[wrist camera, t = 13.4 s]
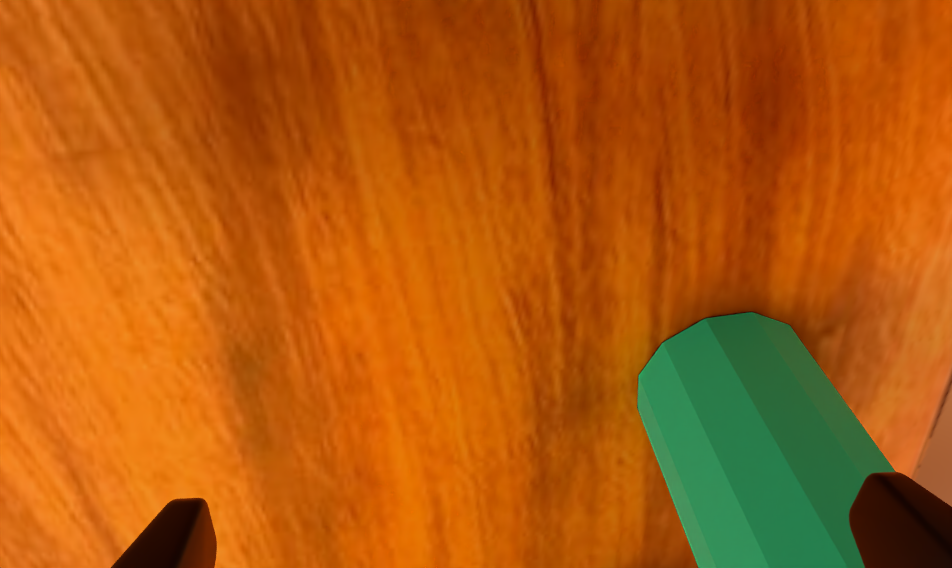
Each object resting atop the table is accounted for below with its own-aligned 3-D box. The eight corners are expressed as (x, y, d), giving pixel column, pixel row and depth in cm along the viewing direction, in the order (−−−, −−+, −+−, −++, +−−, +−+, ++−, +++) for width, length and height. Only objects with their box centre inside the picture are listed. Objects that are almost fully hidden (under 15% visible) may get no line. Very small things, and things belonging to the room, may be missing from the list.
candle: (665, 305, 23) (867, 701, 13) (835, 318, 24) (1144, 696, 14) (615, 437, 26) (746, 830, 16) (766, 444, 27) (976, 819, 17)
